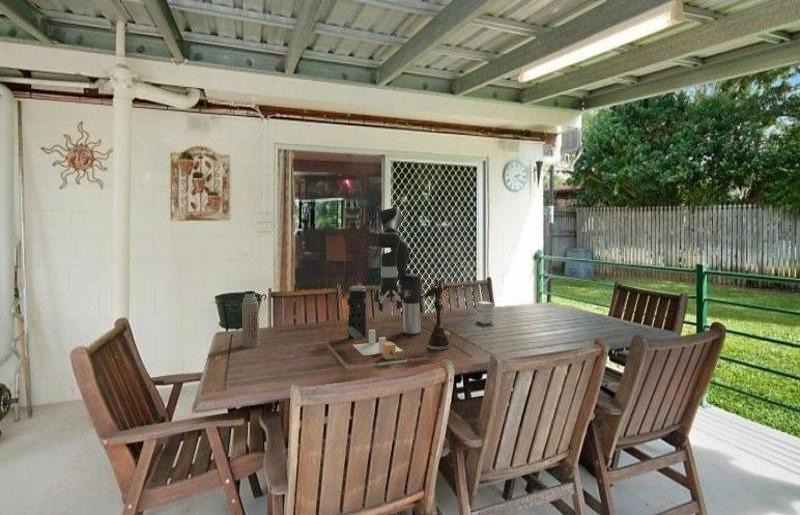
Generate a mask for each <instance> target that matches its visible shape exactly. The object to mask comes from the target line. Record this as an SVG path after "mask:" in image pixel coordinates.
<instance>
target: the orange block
mask: <svg viewBox="0 0 800 515" xmlns="http://www.w3.org/2000/svg"><path fill="white" fill-rule="evenodd" d="M395 345H396V344H395V343H394V342H392V341H390V342H389V343H383V353H382V358H383V359H385V360H387V361H390V360H396V352H395Z"/></svg>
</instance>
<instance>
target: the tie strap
mask: <svg viewBox="0 0 800 515" xmlns="http://www.w3.org/2000/svg"><path fill="white" fill-rule="evenodd" d="M345 332H347V334H348V333H349V334H350V335H351V336H352V337H354V338H355V339H354V340H356V341H363V340H364V338H363V335H362V334H361V333H359V332H358V331H357V330H356V329H354V328H353V327H348V326H346V327H345Z"/></svg>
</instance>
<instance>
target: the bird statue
mask: <svg viewBox="0 0 800 515" xmlns="http://www.w3.org/2000/svg"><path fill="white" fill-rule="evenodd" d="M430 286H431V288H430V289H429V290H428V291H427V292H425V293H420V299H423V297H424V298H427V297H428V298H429V297H434V296H435V297H434V298H435V302H434V303H433V306H434V309H436V316H435V319H436V325H434V328H433V332H431V334H430V338H429V341H428V342H427V343H426V348H428V349H431V350H434V349H436V350H438V351H442V349H443V350H448V349H447V348H450V347H451V343H450V340H449V339H448V335H447V333H446V331H445V329H444V325H442V310H443V308H444V302H443V299H442V298H441V295H442V293H443V292H444V291H445V290H446V289H448V288H449V287H450V285H449V284H445V285H444V286H443V283H442V279H440V280H438V286H436V285H434V283H433V282H431V285H430ZM449 346H450V347H449Z"/></svg>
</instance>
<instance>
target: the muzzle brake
mask: <svg viewBox="0 0 800 515" xmlns="http://www.w3.org/2000/svg"><path fill="white" fill-rule="evenodd" d="M367 295H368V294H367V289H366V286H365V285H352V286H350V287H349V290H348V298H347V301H346V303H347V306H348V315H347V317H348V320H347V327H353V328H354V329H356V330H357V331H358V332H359V333H361V334H362V335H363V339H364V338H367V301H366V299H367ZM347 335H348V338H349V339H351V340H356V339H355V338H354V337H352V336H351V335H350V334H349V333H348V332H347Z"/></svg>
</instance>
